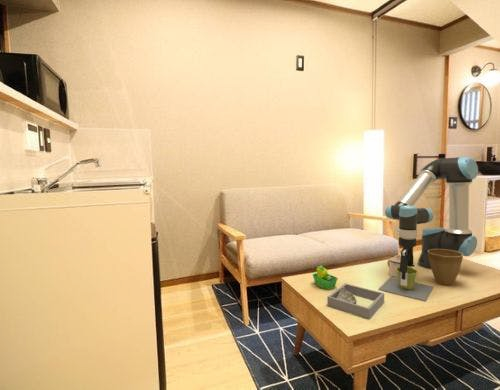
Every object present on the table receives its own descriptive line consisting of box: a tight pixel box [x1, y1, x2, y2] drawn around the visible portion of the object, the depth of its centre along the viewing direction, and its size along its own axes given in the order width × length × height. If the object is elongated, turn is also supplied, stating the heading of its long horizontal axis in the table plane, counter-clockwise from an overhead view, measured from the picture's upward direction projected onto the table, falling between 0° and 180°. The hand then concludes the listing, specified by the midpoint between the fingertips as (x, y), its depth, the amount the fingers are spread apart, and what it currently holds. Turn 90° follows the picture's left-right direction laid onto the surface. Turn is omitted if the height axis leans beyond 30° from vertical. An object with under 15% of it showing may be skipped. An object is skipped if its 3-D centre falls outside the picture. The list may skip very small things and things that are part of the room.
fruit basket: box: [312, 265, 338, 291], centre depth 144 cm, size 11×9×11 cm
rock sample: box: [336, 287, 358, 304], centre depth 125 cm, size 10×8×9 cm
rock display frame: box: [326, 283, 385, 320], centre depth 125 cm, size 19×18×4 cm
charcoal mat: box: [378, 276, 435, 302], centre depth 139 cm, size 20×20×1 cm
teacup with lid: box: [386, 254, 401, 279], centre depth 157 cm, size 12×9×12 cm
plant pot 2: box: [428, 249, 464, 286], centre depth 145 cm, size 15×15×16 cm
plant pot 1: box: [396, 267, 419, 289], centre depth 139 cm, size 9×9×9 cm
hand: (406, 282), depth 139 cm, fingers closed on plant pot 1, 9 cm apart
